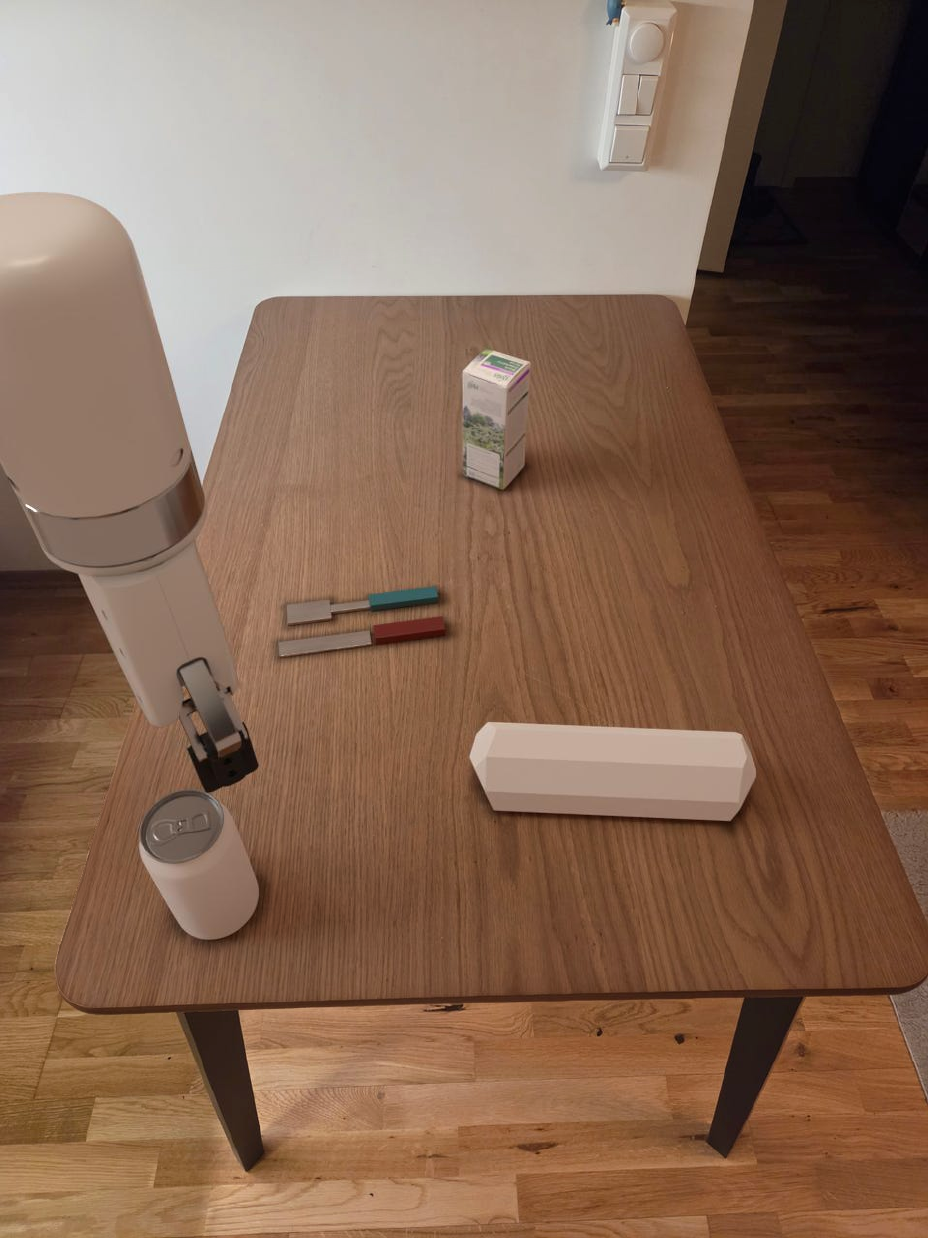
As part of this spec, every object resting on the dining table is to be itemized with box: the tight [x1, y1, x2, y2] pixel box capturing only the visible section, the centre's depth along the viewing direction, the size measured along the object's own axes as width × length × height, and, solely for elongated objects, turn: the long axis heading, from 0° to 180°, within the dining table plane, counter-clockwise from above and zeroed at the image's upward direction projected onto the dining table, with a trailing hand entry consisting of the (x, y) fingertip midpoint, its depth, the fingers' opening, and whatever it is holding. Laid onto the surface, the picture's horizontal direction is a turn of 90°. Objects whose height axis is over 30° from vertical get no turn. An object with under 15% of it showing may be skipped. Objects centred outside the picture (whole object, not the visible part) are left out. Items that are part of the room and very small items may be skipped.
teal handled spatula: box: [286, 585, 439, 626], centre depth 88 cm, size 15×3×1 cm, turn 100°
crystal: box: [468, 721, 757, 822], centre depth 73 cm, size 7×7×24 cm
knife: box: [278, 615, 446, 658], centre depth 85 cm, size 16×2×1 cm, turn 100°
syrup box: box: [462, 348, 532, 491], centre depth 98 cm, size 6×6×14 cm
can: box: [138, 788, 260, 941], centre depth 63 cm, size 6×6×12 cm
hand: (200, 718), depth 51 cm, fingers open, 9 cm apart
